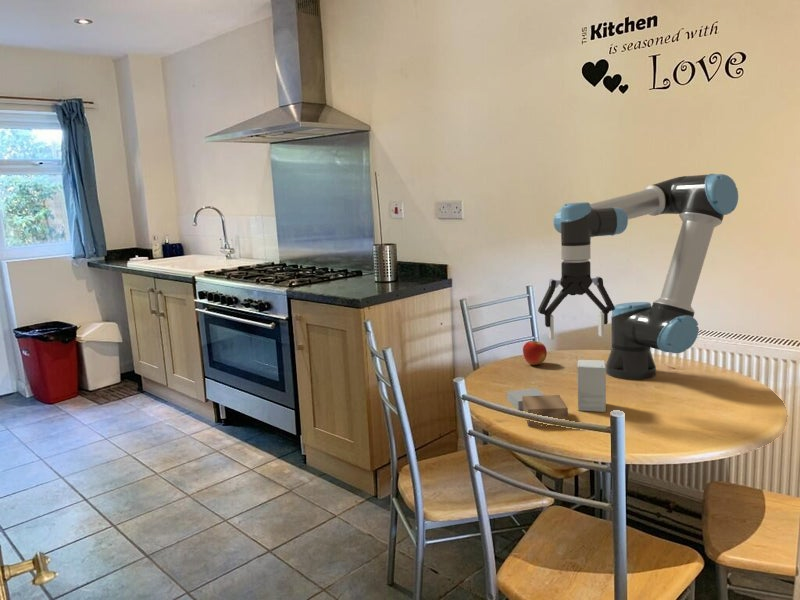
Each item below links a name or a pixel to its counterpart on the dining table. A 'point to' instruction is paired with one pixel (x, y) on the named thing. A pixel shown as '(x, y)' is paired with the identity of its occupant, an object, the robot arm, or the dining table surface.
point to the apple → (534, 352)
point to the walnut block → (545, 407)
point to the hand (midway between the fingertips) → (576, 337)
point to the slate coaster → (516, 396)
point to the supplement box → (591, 385)
